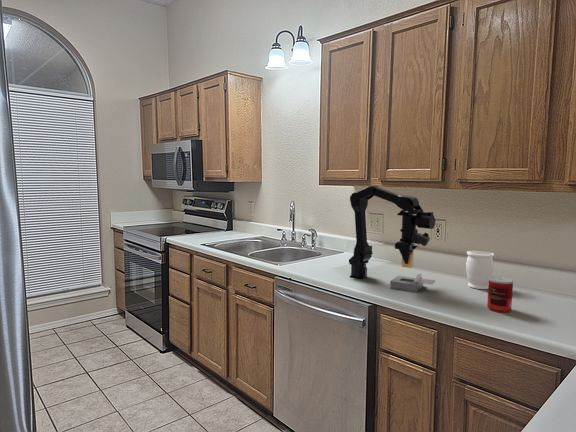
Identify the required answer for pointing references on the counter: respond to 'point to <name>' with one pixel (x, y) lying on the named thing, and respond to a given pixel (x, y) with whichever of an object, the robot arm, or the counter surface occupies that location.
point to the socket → (405, 283)
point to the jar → (479, 268)
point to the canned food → (500, 294)
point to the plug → (410, 262)
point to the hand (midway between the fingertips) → (407, 263)
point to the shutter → (423, 280)
